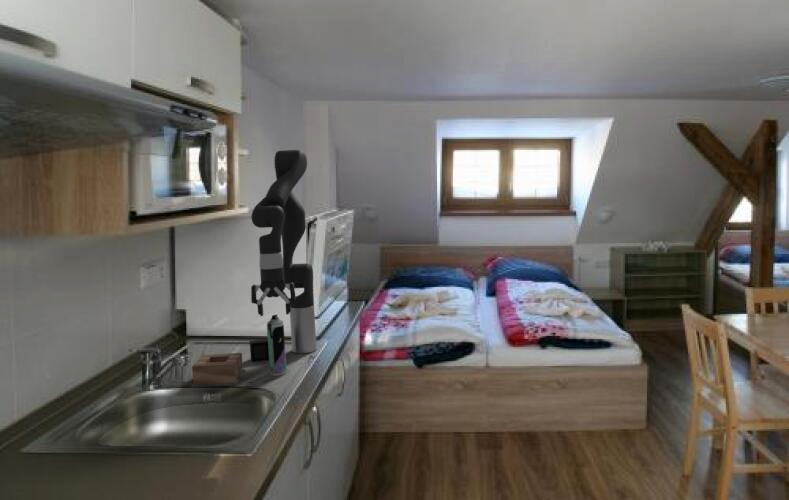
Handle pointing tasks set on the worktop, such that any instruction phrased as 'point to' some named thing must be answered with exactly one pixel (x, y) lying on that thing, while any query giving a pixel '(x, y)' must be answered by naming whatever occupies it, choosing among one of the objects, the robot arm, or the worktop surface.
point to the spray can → (276, 346)
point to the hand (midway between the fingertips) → (274, 314)
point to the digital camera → (259, 350)
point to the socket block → (218, 370)
